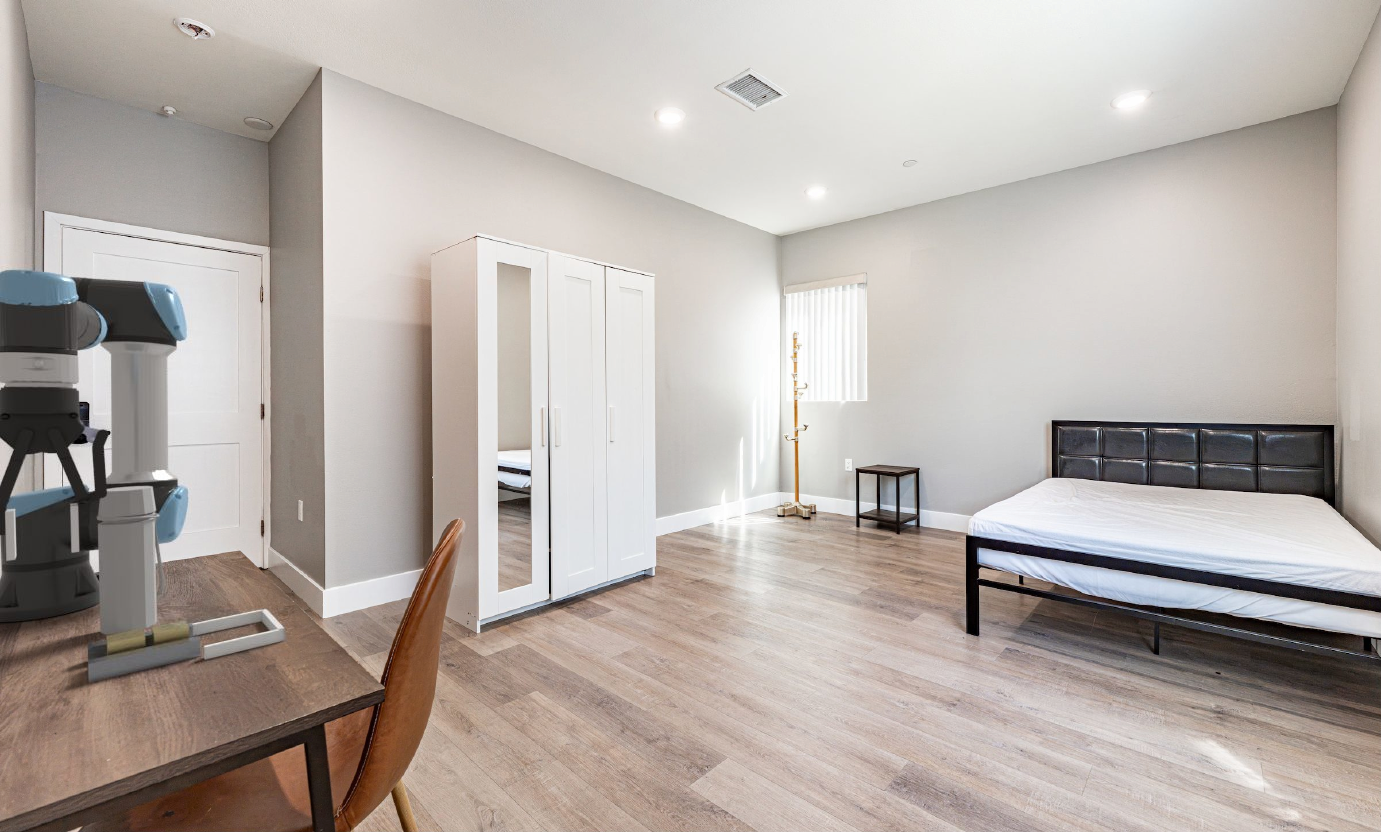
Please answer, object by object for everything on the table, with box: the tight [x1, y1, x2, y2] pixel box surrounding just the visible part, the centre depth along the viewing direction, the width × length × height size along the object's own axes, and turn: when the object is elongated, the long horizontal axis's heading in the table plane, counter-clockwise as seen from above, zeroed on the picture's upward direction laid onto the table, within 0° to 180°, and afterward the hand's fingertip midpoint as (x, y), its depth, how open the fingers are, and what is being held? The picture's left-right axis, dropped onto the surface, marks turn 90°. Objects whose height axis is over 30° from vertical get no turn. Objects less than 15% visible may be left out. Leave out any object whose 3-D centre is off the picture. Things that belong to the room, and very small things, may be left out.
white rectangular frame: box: [192, 608, 286, 660], centre depth 99 cm, size 14×10×3 cm
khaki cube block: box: [151, 619, 189, 646], centre depth 93 cm, size 4×4×4 cm
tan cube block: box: [106, 629, 145, 656], centre depth 89 cm, size 4×4×4 cm
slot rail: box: [86, 622, 201, 683], centre depth 91 cm, size 10×12×4 cm
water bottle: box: [97, 486, 165, 636], centre depth 104 cm, size 9×8×25 cm
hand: (44, 554), depth 83 cm, fingers open, 5 cm apart
